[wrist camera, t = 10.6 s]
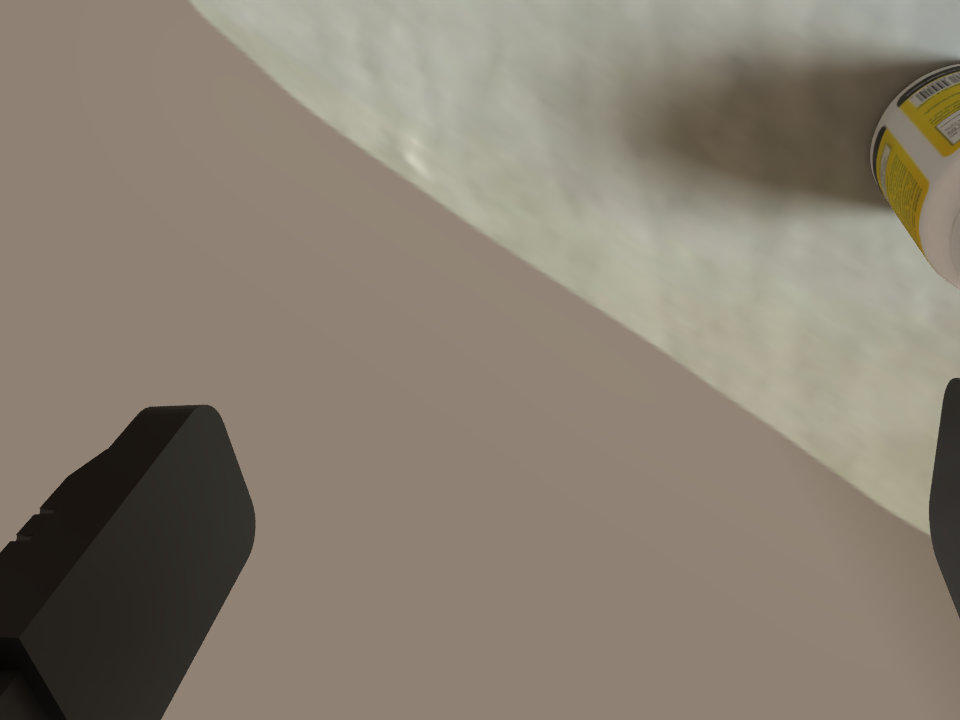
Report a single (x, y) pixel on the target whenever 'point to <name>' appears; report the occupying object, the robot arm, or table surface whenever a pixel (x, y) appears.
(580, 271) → the table surface
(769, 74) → the table surface
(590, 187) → the table surface
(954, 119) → the supplement bottle
